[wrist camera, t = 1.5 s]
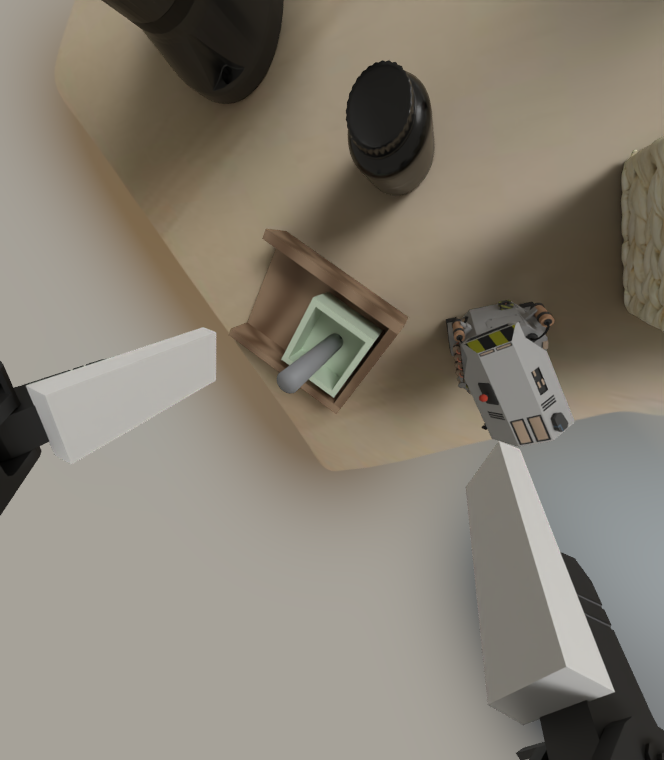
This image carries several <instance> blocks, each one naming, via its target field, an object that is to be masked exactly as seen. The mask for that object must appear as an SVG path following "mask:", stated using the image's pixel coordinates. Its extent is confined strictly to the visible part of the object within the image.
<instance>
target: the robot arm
mask: <svg viewBox="0 0 664 760" xmlns="http://www.w3.org/2000/svg"><path fill="white" fill-rule="evenodd" d="M102 1H103V2H105V3H106V4H108V5H109V6H110V7H112V8H113V9H115V10H116V11H117V12H119V13H120V14H122V15H123V16H125V17H126V18H127V19H129V20H130V21H132V22H133V23H134V24H136V25H137V26H138V27H140V28H141V29H142V30H143V31H144V33H145V34H146V35H147V36H148V38H149V39H150V40H151V41H152V43H153V44H154V45H155V47H156V48H157V49H158V50H159V52H160V53H161V54H162V55H163V57H164V58H165V59H166V61H167V62H168V63H169V64H170V66H171V67H172V68H173V70H174V71H175V72H176V73H177V74H178V76H179V77H180V78H181V79H182V80H183V81H184V82H185V83H186V84H187V85H188V86H190V87H191V88H192V89H194V90H195V91H197V92H198V93H200V94H201V95H203V96H204V97H206V98H208V99H209V100H211V101H214V102H217V103H223V104H228V103H233V102H237V101H239V100H241V99H243V98H245V97H246V96H248V95H249V94H250V93H251V92H252V91H253V90H254V89H255V88H256V87H257V86H258V85H259V83H260V82H261V80H262V79H263V77H264V76H265V74H266V72H267V70H268V68H269V66H270V64H271V61H272V59H273V56H274V53H275V50H276V47H277V43H278V39H279V34H280V29H281V23H282V13H283V0H102ZM214 381H216V332H214V331H211V330H209V329H206V328H204V327H202V328H199V329H196V330H194V331H191V332H187V333H184V334H181V335H178V336H175V337H173V338H169V339H166V340H163V341H160V342H157V343H154V344H151V345H148V346H145V347H142V348H139V349H135V350H133V351H129V352H126V353H123V354H121V355H117V356H114V357H112V358H108V359H102V360H99V361H96V362H93V363H89V364H86V366H80V367H77V368H74V369H73V370H72V371H70V370H68V371H65V372H62V373H59V374H55V375H52V376H49V377H46V378H44V379H41V380H37V381H34V382H31V383H28V384H25V385H22V386H18V387H15V388H13V386H12V384H11V381H10V379H9V377H8V374H7V372H6V370H5V368H4V365H3V364H2V362H1V361H0V515H1V514H2V512H3V511H4V509H5V507H6V506H7V505H8V503H9V502H10V500H11V499H12V497H13V496H14V494H15V493H16V491H17V490H18V488H19V487H20V485H21V484H22V482H23V481H24V479H25V478H26V476H27V475H28V473H29V472H30V470H31V469H32V467H33V466H34V464H35V463H36V461H37V460H38V458H39V457H40V454H41V449H40V446H41V445H43V444H45V443H47V442H49V443H50V445H51V448H52V450H53V452H54V455H55V456H57V457H59V458H61V459H62V460H64V461H66V462H68V463H69V464H73V463H75V462H77V461H78V460H80V459H82V458H84V457H85V456H87V455H89V454H90V453H92V452H94V451H96V450H97V449H99V448H101V447H102V446H104V445H106V444H108V443H109V442H111V441H113V440H114V439H116V438H118V437H120V436H121V435H123V434H124V433H126V432H128V431H130V430H132V429H133V428H135V427H137V426H138V425H140V424H142V423H144V422H145V421H147V420H149V419H150V418H152V417H154V416H156V415H157V414H159V413H161V412H162V411H164V410H166V409H168V408H169V407H171V406H173V405H175V404H176V403H178V402H179V401H181V400H183V399H185V398H186V397H188V396H190V395H192V394H193V393H195V392H197V391H199V390H200V389H202V388H204V387H205V386H207V385H209V384H210V383H212V382H214ZM466 495H467V505H468V515H469V525H470V535H471V544H472V554H473V564H474V573H475V584H476V594H477V603H478V613H479V623H480V633H481V643H482V653H483V662H484V672H485V682H486V692H487V702H488V705H489V706H491V707H493V708H494V709H496V710H498V711H500V712H502V713H503V714H505V715H507V716H508V717H510V718H512V719H513V720H515V721H517V722H519V723H520V724H522V725H525V724H528V723H530V722H534V721H536V720H539V719H540V721H541V726H542V730H543V735H544V740H545V742H542V743H538V744H535V745H532V746H528V747H525V748H522V749H521V750H520V751H518V752H517V753H516V754H517V755H518V757H519V759H520V760H525V759H529V760H664V730H663V729H661V728H659V727H658V726H657V724H656V722H655V720H654V718H653V716H652V714H651V712H650V710H649V708H648V705H647V703H646V701H645V699H644V697H643V694H642V692H641V690H640V688H639V685H638V683H637V681H636V679H635V677H634V674H633V672H632V670H631V668H630V666H629V663H628V661H627V659H626V657H625V655H624V652H623V650H622V648H621V646H620V644H619V641H618V639H617V637H616V635H615V632H614V630H612V629H611V628H610V627H611V623H610V621H609V619H608V617H607V615H606V612H605V610H604V609H602V607H601V606H602V604H601V601H600V599H599V597H598V595H597V592H596V590H595V588H594V586H593V584H592V582H591V580H590V579H589V577H588V576H587V575H586V573H585V572H584V570H583V569H582V568H581V566H580V565H579V564H578V562H577V561H576V560H575V558H573V557H570V556H568V555H566V554H564V553H561V552H560V551H559V548H558V545H557V543H556V540H555V538H554V535H553V533H552V530H551V527H550V525H549V523H548V520H547V517H546V515H545V512H544V510H543V507H542V504H541V502H540V499H539V497H538V494H537V492H536V489H535V487H534V484H533V482H532V479H531V476H530V474H529V471H528V469H527V467H526V464H525V461H524V459H523V456H522V454H521V451H520V449H518V448H516V447H513V446H510V445H508V444H505V443H503V442H500V441H499V442H498V443H497V444H496V446H495V447H494V449H493V450H492V451H491V453H490V454H489V455H488V457H487V458H486V460H485V461H484V463H483V464H482V465H481V467H480V468H479V469H478V471H477V472H476V474H475V475H474V476H473V478H472V479H471V481H470V482H469V483H468V485H467V486H466Z"/></svg>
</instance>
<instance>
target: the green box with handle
mask: <svg viewBox="0 0 664 760" xmlns="http://www.w3.org/2000/svg"><path fill="white" fill-rule="evenodd" d="M382 331H383V330H381V329H380V328H379V327H377V326H376V325H374V324H373V323H371V322H370V321H369V320H367V319H366V318H364V317H363V316H362V315H360V314H359V313H357V312H356V311H355V310H353V309H352V308H350V307H349V306H348V305H346V304H345V303H343V302H342V301H341V300H339V299H338V298H336V297H335V296H334V295H332V294H331V293H329V292H326V293H323V294H321V295H318V296H315V297H313V299H312V301H311V303H310V304H309V306H308V308H307V310H306V312H305V314H304V316H303V318H302V320H301V322H300V324H299V326H298V328H297V330H296V332H295V334H294V336H293V338H292V339H291V341H290V343H289V345H288V347H287V349H286V351H285V353H284V355H283V357H282V360H283V361H284V362H286V363H287V364H288V365H289V366H288V367H287V368H285V369H284V370H283V371H281V372H280V373H279V374H278V376H277V383H278V386H279V387H280V388H281V390H283V391H284V392H286V393H294V392H296V391H297V390H298V389H299V388H300V387H301V386H302V385H303V384H304V383H305V382H306V381H307V380H308V379H309V380H310V381H312V382H313V383H314V384H316V385H317V386H318V387H320V388H321V389H322V390H324V391H325V392H327V393H328V394H329V395H331V396H332V397H333V398H334V397H335V395H336V394H337V393H338V391H339V390H340V389H341V387H342V386H343V384H344V383H345V382H346V380H347V379H348V378H349V376H350V375H351V373H352V372H353V371H354V369H355V368H356V367H357V365H358V364H359V362H360V361H361V360H362V358H363V357H364V356H365V354H366V353H367V351H368V350H369V349H370V347H371V346H372V345H373V343H374V342H375V340H376V339H377V338H378V336H379V335H380V334H381V332H382Z"/></svg>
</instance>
